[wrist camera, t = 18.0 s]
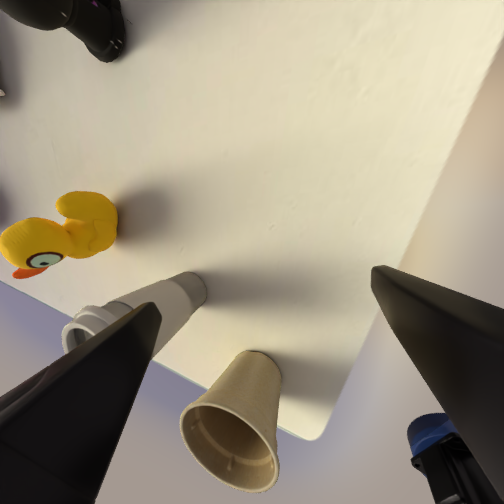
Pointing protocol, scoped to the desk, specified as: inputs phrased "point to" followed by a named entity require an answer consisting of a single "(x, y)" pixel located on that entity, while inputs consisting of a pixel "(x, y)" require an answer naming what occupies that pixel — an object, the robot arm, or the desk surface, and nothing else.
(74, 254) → the duckling
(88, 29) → the gumball machine
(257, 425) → the flower pot
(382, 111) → the desk surface
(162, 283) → the cup
